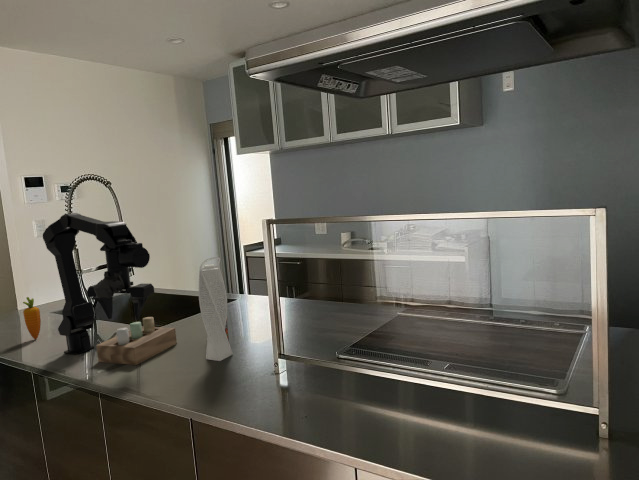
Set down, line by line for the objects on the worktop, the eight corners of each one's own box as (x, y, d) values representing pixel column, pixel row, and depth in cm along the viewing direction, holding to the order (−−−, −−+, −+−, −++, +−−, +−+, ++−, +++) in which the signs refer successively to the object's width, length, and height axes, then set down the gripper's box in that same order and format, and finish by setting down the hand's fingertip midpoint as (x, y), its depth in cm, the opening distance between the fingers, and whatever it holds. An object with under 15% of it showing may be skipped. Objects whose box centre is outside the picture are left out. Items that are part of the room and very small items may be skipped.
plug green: (130, 344, 151) (127, 324, 150) (137, 340, 154) (135, 321, 153) (138, 344, 150) (135, 325, 149) (145, 341, 153) (143, 322, 152)
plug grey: (116, 350, 146) (113, 330, 145) (124, 347, 149) (121, 327, 148) (125, 351, 145) (122, 331, 144) (133, 347, 148) (130, 327, 147)
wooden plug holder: (98, 361, 147) (96, 345, 146) (141, 341, 163) (139, 326, 162) (136, 364, 141) (134, 347, 141) (176, 343, 158) (175, 328, 157)
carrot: (42, 339, 174) (36, 297, 172) (26, 342, 172) (19, 299, 171) (44, 336, 179) (38, 294, 177) (28, 338, 177) (22, 297, 175)
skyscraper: (219, 350, 148) (209, 256, 144) (239, 353, 144) (229, 256, 140) (200, 359, 141) (189, 261, 138) (220, 363, 137) (209, 262, 134)
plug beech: (142, 338, 156) (140, 319, 155) (149, 335, 159) (147, 316, 158) (151, 338, 155) (148, 320, 154) (157, 335, 158) (155, 317, 157)
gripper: (69, 272, 139) (76, 327, 141) (128, 272, 134) (134, 328, 136) (97, 264, 149) (103, 315, 151) (152, 263, 144) (158, 316, 147)
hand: (123, 319), depth 146 cm, fingers open, 9 cm apart
